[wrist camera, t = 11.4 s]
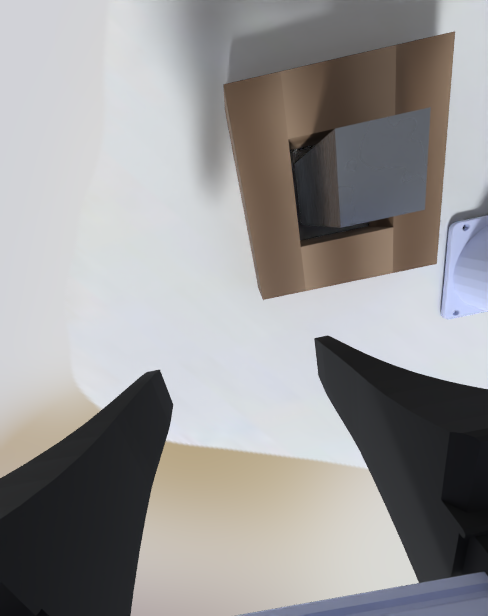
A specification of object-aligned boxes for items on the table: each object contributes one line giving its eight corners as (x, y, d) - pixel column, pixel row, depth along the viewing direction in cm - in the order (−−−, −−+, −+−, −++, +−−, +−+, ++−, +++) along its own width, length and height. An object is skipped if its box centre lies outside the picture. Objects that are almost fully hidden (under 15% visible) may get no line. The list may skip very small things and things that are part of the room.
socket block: (413, 66, 15) (455, 31, 12) (406, 257, 19) (436, 263, 16) (224, 109, 15) (223, 84, 13) (258, 288, 20) (263, 299, 17)
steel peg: (351, 151, 17) (430, 107, 10) (354, 213, 18) (424, 209, 11) (294, 164, 17) (335, 128, 10) (301, 224, 18) (340, 227, 11)
